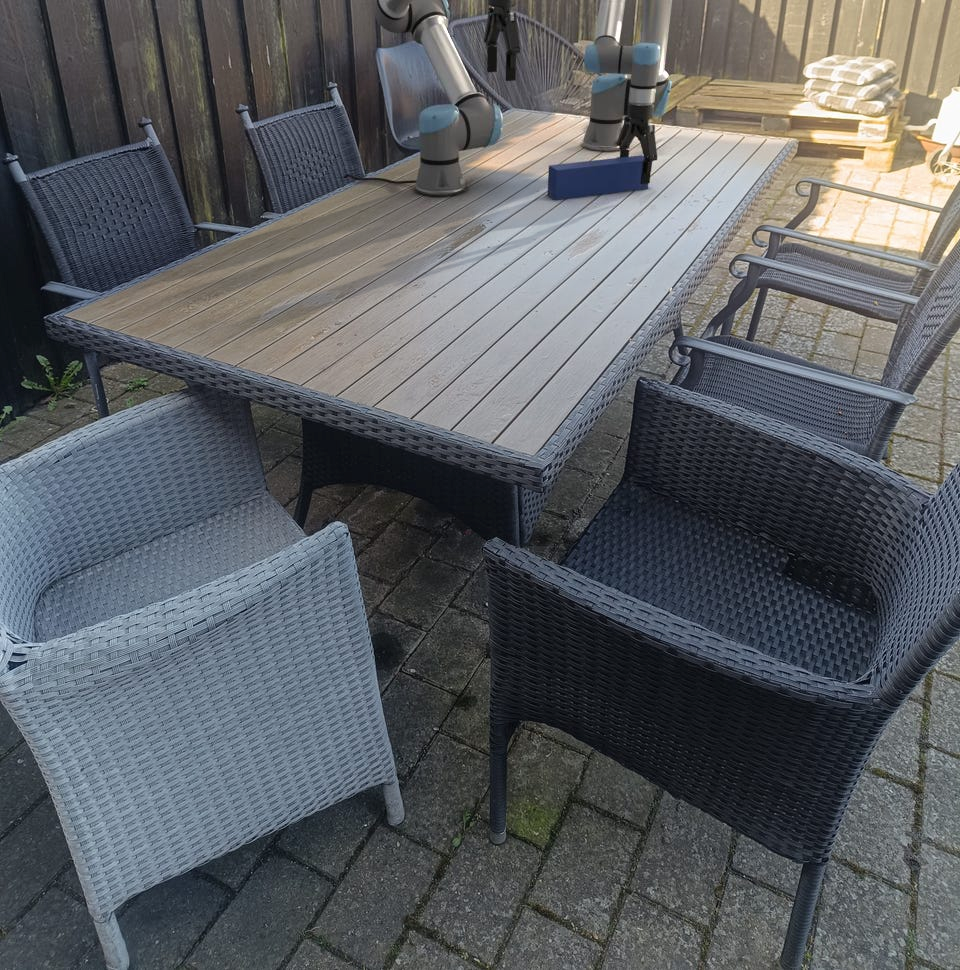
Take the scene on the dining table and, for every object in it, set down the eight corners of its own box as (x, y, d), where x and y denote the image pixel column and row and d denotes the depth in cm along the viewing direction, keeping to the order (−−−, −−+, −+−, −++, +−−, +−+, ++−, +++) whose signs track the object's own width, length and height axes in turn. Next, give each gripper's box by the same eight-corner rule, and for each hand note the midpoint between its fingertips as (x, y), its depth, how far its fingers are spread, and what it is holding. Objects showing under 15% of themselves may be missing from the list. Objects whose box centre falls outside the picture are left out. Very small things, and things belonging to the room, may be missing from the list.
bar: (555, 200, 250) (556, 170, 245) (547, 194, 254) (548, 165, 249) (647, 188, 259) (651, 159, 254) (638, 183, 264) (641, 155, 259)
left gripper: (534, -7, 217) (531, 83, 229) (497, -16, 235) (496, 67, 248) (507, -6, 214) (506, 85, 227) (472, -15, 233) (472, 69, 246)
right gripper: (675, 110, 238) (665, 187, 250) (631, 94, 257) (624, 166, 269) (652, 112, 236) (643, 189, 248) (609, 96, 255) (603, 168, 267)
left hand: (501, 76), depth 237 cm, fingers open, 13 cm apart
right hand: (633, 177), depth 259 cm, fingers open, 13 cm apart
